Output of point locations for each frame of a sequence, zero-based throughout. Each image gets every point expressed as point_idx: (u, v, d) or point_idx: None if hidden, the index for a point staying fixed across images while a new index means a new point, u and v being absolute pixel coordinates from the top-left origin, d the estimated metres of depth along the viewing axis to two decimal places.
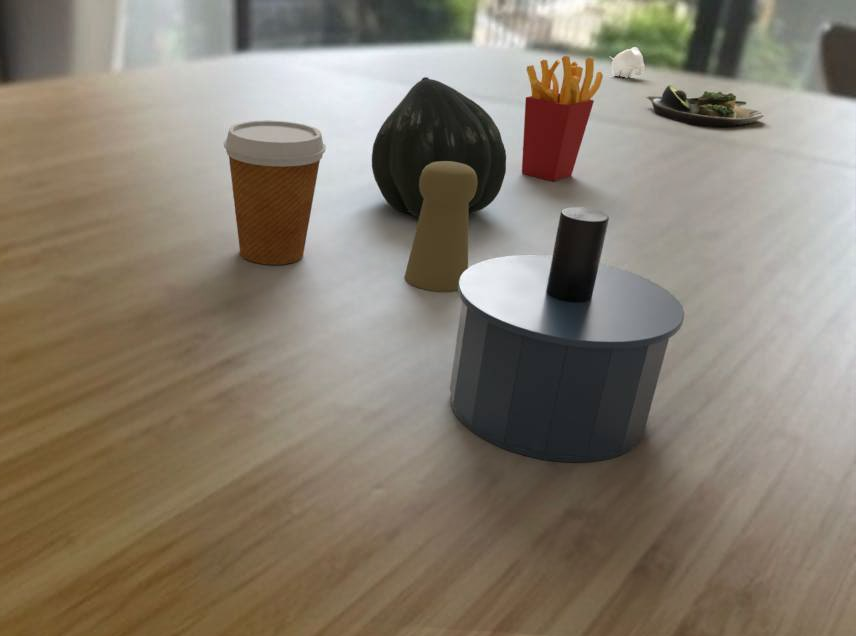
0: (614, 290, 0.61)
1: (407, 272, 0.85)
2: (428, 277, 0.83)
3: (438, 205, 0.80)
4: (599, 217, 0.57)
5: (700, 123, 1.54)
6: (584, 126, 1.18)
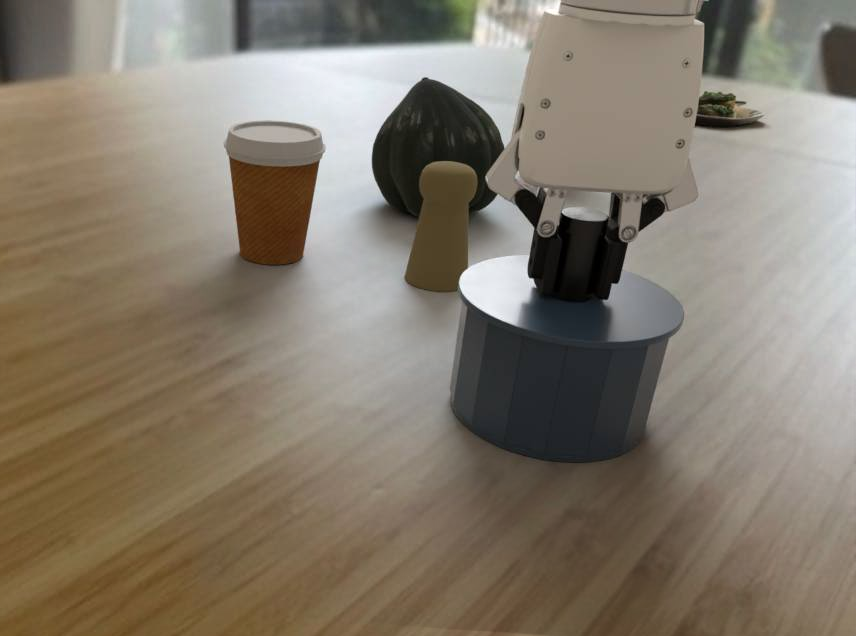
0: (614, 290, 0.61)
1: (407, 272, 0.85)
2: (428, 277, 0.83)
3: (438, 205, 0.80)
4: (599, 217, 0.57)
5: (700, 123, 1.54)
6: None
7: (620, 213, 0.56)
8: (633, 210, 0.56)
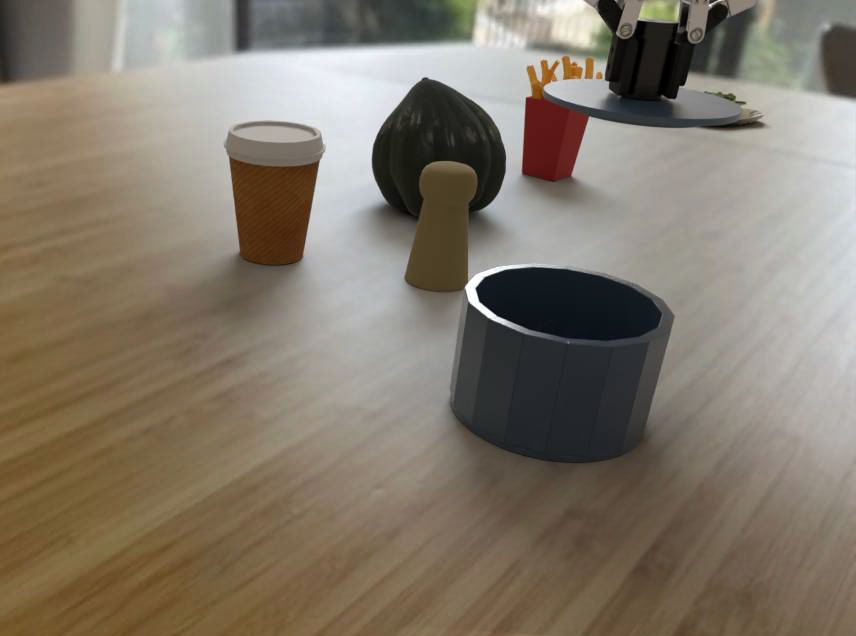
0: (679, 97, 0.70)
1: (407, 272, 0.85)
2: (428, 277, 0.83)
3: (438, 205, 0.80)
4: (670, 22, 0.66)
5: None
6: (584, 126, 1.18)
7: (689, 16, 0.65)
8: (701, 12, 0.65)
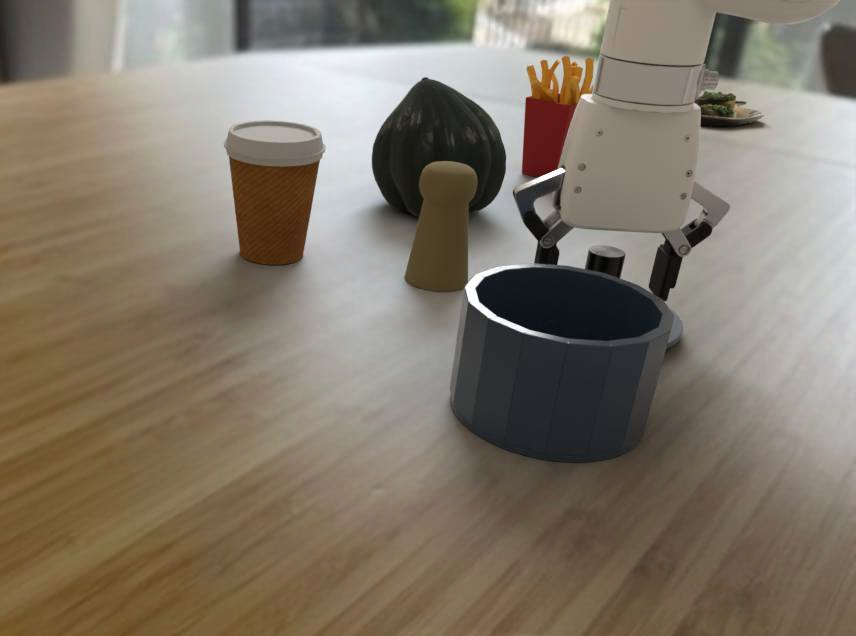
0: None
1: (407, 272, 0.85)
2: (428, 277, 0.83)
3: (438, 205, 0.80)
4: (618, 254, 0.75)
5: None
6: None
7: None
8: (676, 234, 0.73)
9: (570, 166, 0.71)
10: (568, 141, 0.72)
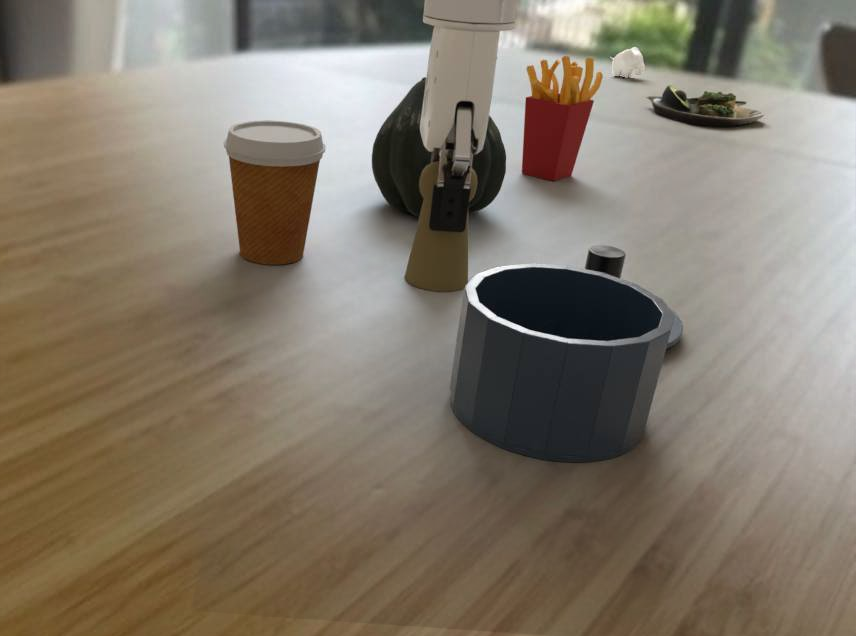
0: None
1: (407, 272, 0.85)
2: (428, 277, 0.83)
3: None
4: (618, 254, 0.75)
5: (700, 123, 1.54)
6: (584, 126, 1.18)
7: None
8: None
9: (483, 97, 0.73)
10: (464, 77, 0.72)
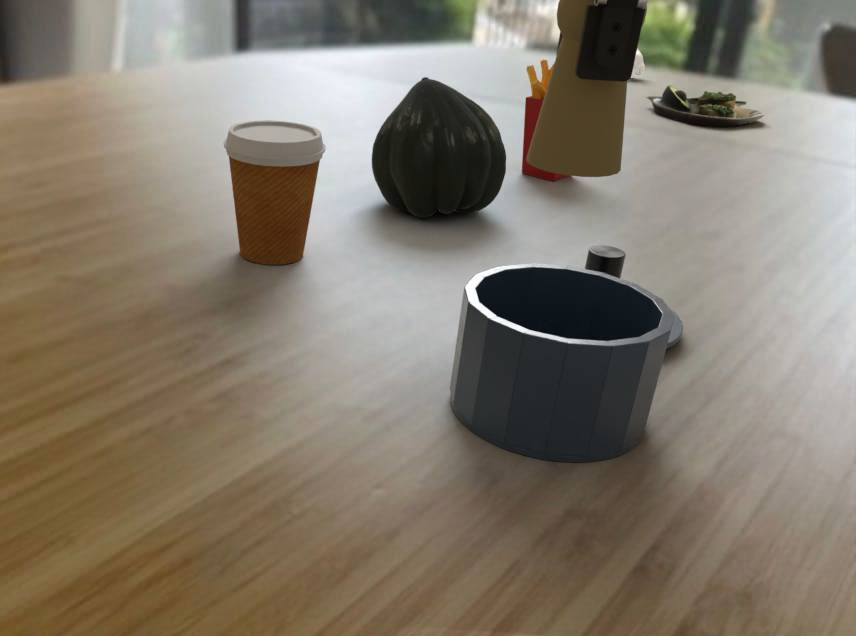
0: None
1: (532, 152, 0.58)
2: (568, 155, 0.56)
3: None
4: (618, 254, 0.75)
5: (700, 123, 1.54)
6: None
7: None
8: None
9: None
10: None
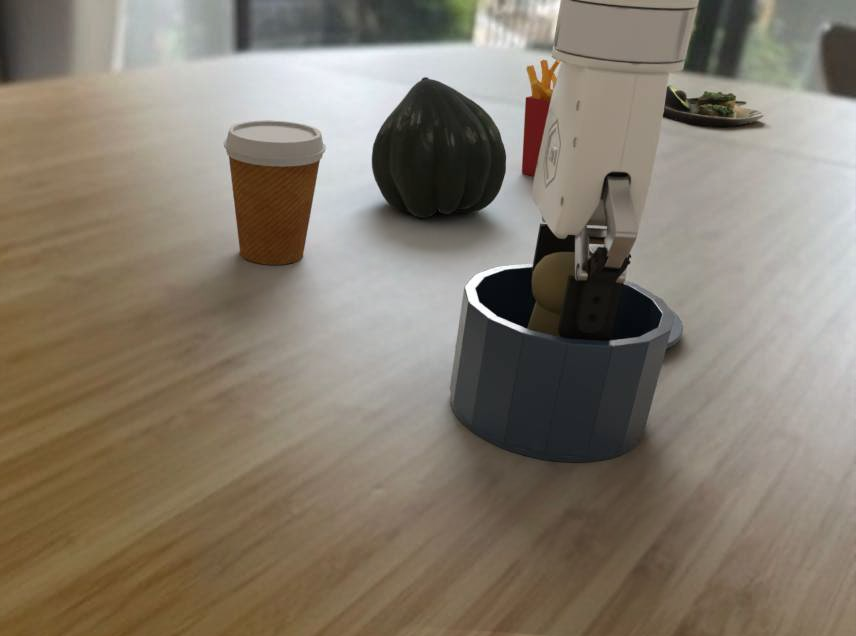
0: None
1: None
2: None
3: (560, 314, 0.59)
4: None
5: (700, 123, 1.54)
6: None
7: None
8: None
9: (644, 167, 0.51)
10: (619, 138, 0.51)
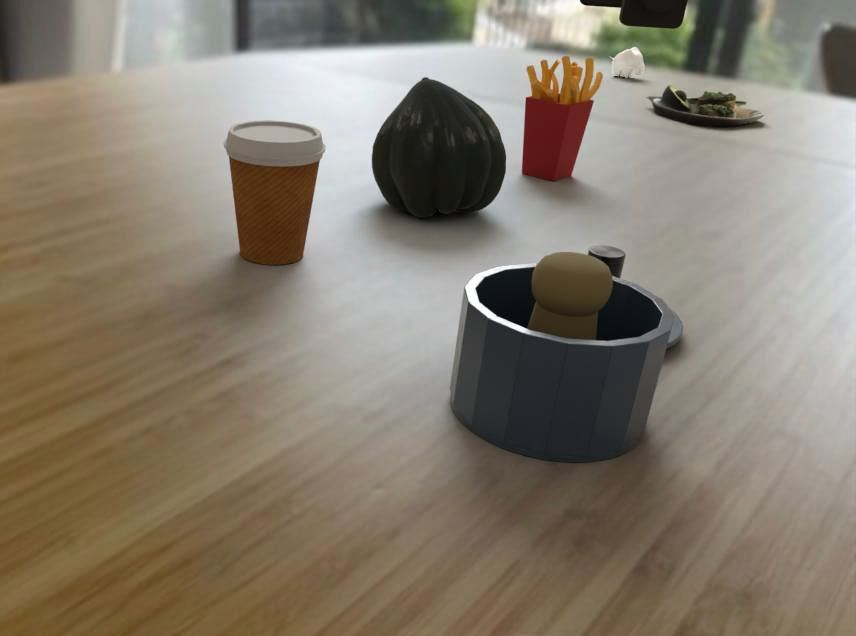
0: None
1: None
2: None
3: (560, 314, 0.59)
4: (618, 254, 0.75)
5: (700, 123, 1.54)
6: (584, 126, 1.18)
7: None
8: None
9: None
10: None
